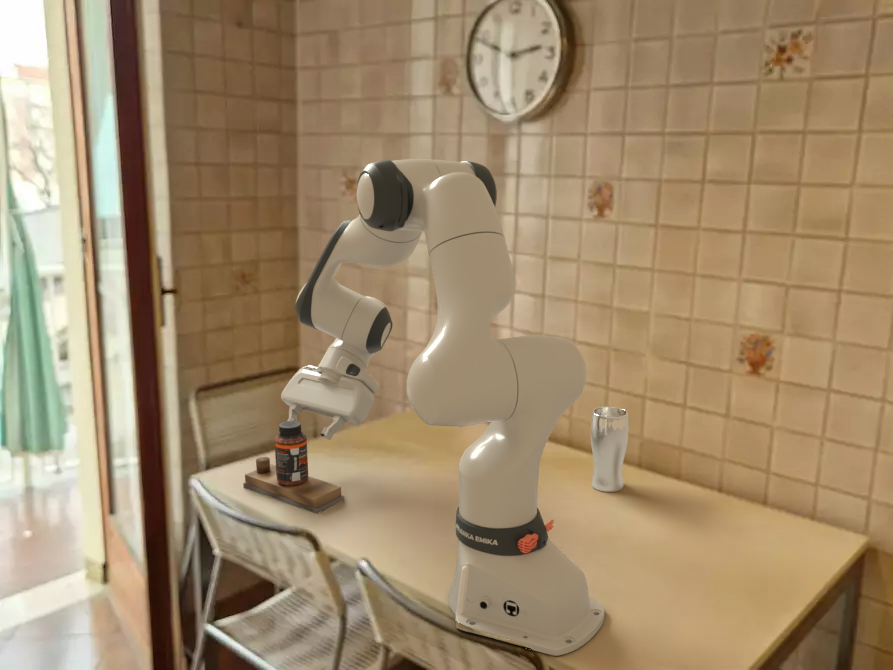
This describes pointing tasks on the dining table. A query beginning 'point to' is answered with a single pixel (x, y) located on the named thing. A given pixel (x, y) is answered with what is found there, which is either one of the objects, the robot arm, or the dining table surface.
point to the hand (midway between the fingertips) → (307, 432)
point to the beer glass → (608, 447)
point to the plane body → (293, 488)
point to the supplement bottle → (291, 454)
